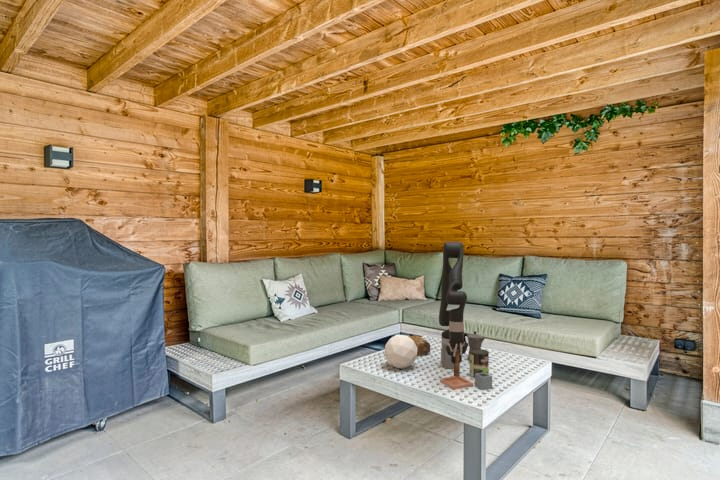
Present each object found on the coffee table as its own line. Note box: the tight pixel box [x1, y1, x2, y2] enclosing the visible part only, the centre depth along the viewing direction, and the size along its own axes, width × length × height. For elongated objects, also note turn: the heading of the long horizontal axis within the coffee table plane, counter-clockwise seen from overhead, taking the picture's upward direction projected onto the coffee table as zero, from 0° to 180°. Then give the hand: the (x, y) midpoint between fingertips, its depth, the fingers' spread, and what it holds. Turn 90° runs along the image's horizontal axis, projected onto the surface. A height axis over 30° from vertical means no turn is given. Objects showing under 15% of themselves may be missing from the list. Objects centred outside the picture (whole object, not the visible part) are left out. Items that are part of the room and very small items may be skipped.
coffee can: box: [468, 348, 490, 379], centre depth 228 cm, size 10×10×14 cm
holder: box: [474, 372, 493, 391], centre depth 211 cm, size 6×6×7 cm
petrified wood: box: [407, 334, 431, 356], centre depth 275 cm, size 19×13×10 cm
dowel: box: [453, 349, 461, 377], centre depth 215 cm, size 3×3×14 cm
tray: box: [439, 375, 474, 390], centre depth 215 cm, size 12×12×2 cm
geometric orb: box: [384, 334, 418, 370], centre depth 245 cm, size 19×20×20 cm
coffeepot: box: [463, 330, 486, 362], centre depth 258 cm, size 15×9×18 cm, turn 44°
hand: (456, 362), depth 215 cm, fingers closed on dowel, 3 cm apart
